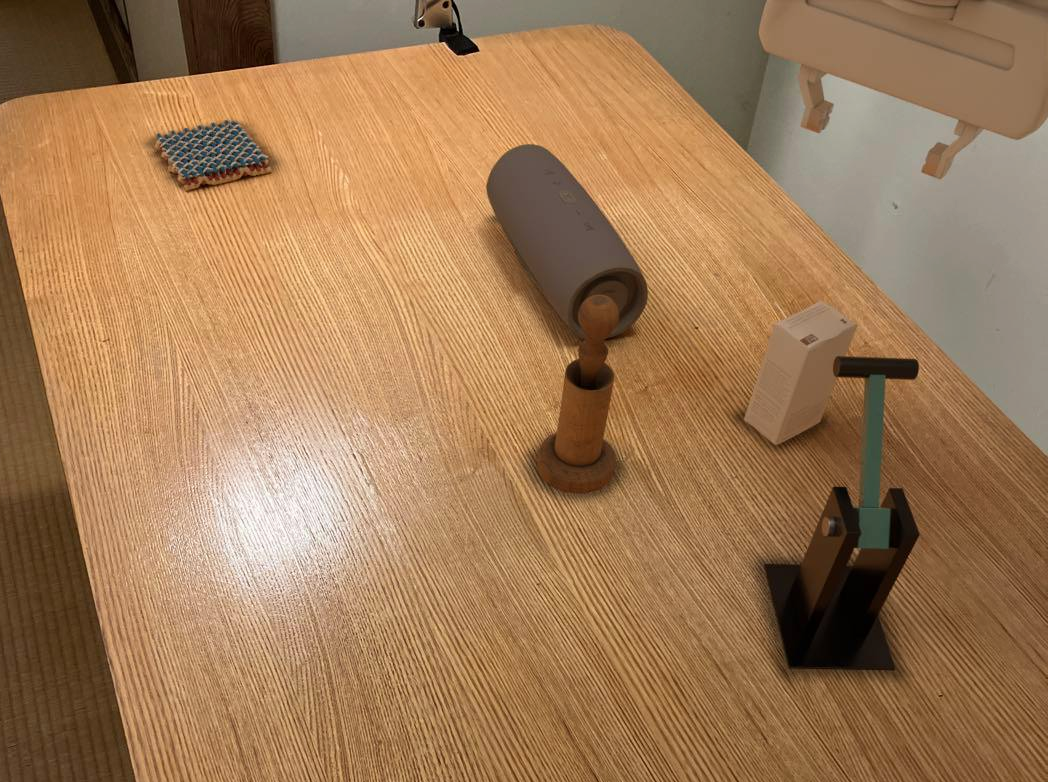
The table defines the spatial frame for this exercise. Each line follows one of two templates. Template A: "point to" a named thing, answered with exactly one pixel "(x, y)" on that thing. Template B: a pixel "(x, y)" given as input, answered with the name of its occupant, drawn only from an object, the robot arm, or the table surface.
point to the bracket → (841, 589)
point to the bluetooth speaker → (563, 237)
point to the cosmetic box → (798, 371)
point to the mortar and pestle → (584, 409)
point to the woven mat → (212, 155)
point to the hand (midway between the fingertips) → (872, 150)
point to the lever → (873, 439)
